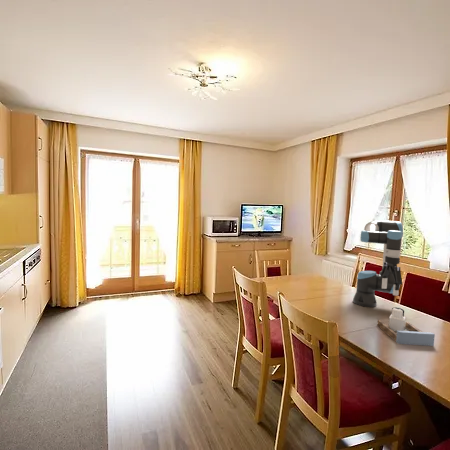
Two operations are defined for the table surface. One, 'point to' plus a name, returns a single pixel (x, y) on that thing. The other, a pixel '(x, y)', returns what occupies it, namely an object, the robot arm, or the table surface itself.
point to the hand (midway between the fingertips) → (389, 291)
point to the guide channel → (391, 332)
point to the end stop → (415, 338)
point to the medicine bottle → (397, 319)
